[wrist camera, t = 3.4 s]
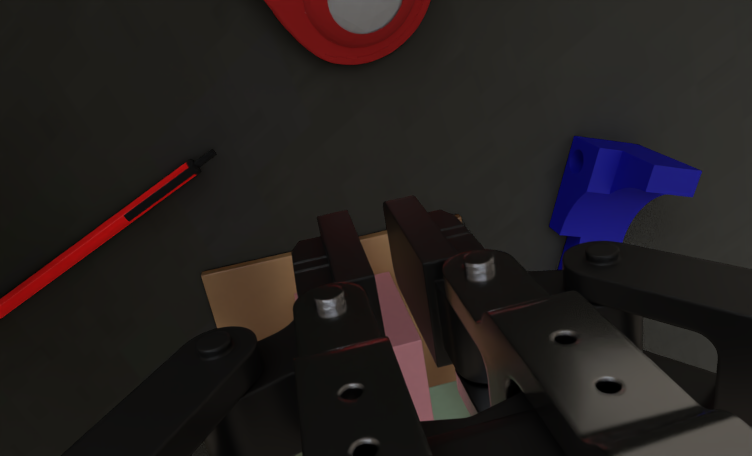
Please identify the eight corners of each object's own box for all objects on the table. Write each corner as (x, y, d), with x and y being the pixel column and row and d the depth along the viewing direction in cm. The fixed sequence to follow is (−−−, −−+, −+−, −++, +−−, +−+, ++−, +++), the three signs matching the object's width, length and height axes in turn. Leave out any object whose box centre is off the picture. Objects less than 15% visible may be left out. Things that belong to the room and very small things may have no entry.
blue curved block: (574, 135, 37) (629, 161, 32) (637, 144, 38) (702, 170, 33) (526, 308, 41) (568, 357, 36) (584, 311, 42) (634, 359, 37)
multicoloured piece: (288, 551, 45) (288, 558, 45) (201, 271, 36) (200, 275, 35) (490, 495, 47) (493, 501, 47) (458, 213, 38) (461, 217, 37)
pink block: (313, 372, 39) (327, 461, 32) (294, 293, 37) (303, 368, 30) (402, 350, 40) (436, 432, 33) (389, 270, 38) (421, 339, 30)
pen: (220, 156, 34) (218, 161, 33) (-45, 350, 35) (-54, 361, 34) (209, 143, 33) (207, 148, 32) (-58, 340, 34) (-68, 350, 33)
